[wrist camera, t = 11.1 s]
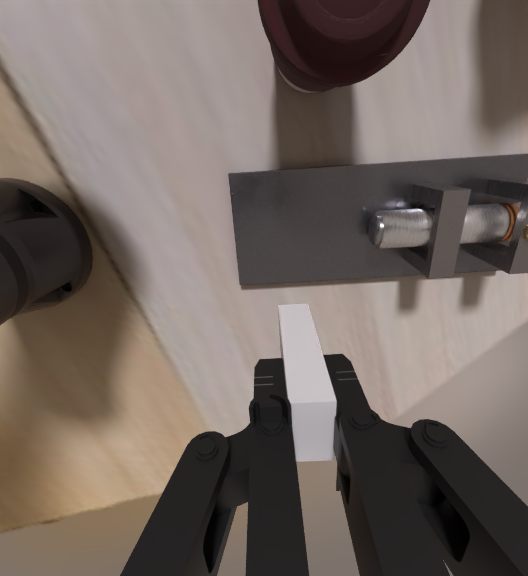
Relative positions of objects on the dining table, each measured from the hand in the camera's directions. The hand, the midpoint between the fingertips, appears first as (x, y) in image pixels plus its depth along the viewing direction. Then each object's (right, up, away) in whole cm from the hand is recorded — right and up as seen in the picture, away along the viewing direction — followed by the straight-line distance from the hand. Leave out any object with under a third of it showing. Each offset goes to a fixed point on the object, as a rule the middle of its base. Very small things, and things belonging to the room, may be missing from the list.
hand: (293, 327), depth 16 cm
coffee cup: (+3, +25, +13) cm, 28 cm away
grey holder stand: (+11, +10, +20) cm, 25 cm away
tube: (+19, +10, +19) cm, 29 cm away
